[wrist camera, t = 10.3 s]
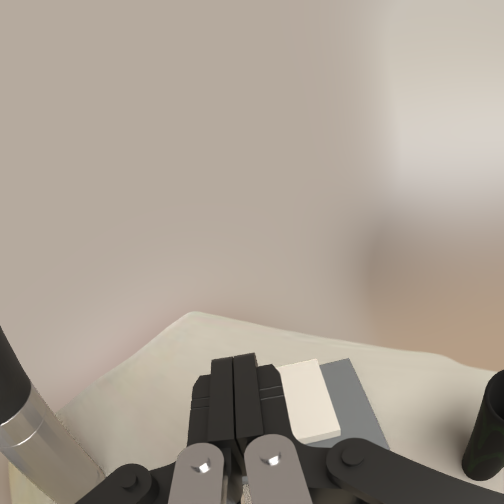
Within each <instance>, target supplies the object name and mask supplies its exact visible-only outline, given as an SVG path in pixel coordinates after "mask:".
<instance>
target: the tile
mask: <svg viewBox="0 0 504 504" xmlns="http://www.w3.org/2000/svg"><path fill="white" fill-rule="evenodd" d="M275 368H276V369H277V370H278V371H279V372H280V375H281V380H282V385H283V390H284V395H285V400H286V405H287V410H288V415H289V420H290V425H291V430H292V433H293V435H294V436H295V438H296V439H297V440H298V441H300V442H301V443H303V444H308V443H312V442H317V441H321V440H325V439H329V438H333V437H337V436H341V429H340V426H339V423H338V420H337V417H336V414H335V411H334V408H333V405H332V402H331V399H330V396H329V393H328V390H327V387H326V384H325V381H324V378H323V376H322V373H321V370H320V367H319V364H318V361H317V358H316V359H311V360H307V361H303V362H298V363H293V364H289V365H284V366H279V367H275Z"/></svg>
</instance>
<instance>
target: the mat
mask: <svg viewBox="0 0 504 504" xmlns="http://www.w3.org/2000/svg"><path fill="white" fill-rule="evenodd" d="M319 367H320V370H321V373H322V376H323V378H324V381H325V384H326V387H327V390H328V393H329V396H330V399H331V402H332V405H333V408H334V411H335V414H336V417H337V420H338V423H339V426H340V429H341V436H337V437H333V438H329V439H325V440H321V441H317V442H312V443H308V444H305V445H308V446H312V447H325V448H332V447H333V446H334V445H335V444H336V443H338V442H340V441H342V440H344V439H348V438H363V439H366V440H369V441H371V442H373V443H375V444H377V445H379V446H381V447H383V448H385V449H387V450H390V448H389V446H388V444H387V441H386V439H385V437H384V434H383V432H382V430H381V428H380V425H379V423H378V421H377V418H376V416H375V414H374V412H373V410H372V407H371V405H370V403H369V401H368V398H367V396H366V394H365V392H364V390H363V387H362V385H361V383H360V381H359V379H358V377H357V374H356V372H355V370H354V368H353V366H352V364H351V362H350V359H349V358H347V359H343V360H339V361H335V362H331V363H327V364H323V365H319ZM242 482H243V485H244V484H248V478H247V476H244V477H242Z"/></svg>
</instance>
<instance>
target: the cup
mask: <svg viewBox="0 0 504 504" xmlns="http://www.w3.org/2000/svg"><path fill="white" fill-rule="evenodd" d="M462 467H463V471H464V472H465V474H466V475H467V476H468V477H469V478H471V479H473V480H476V481H484V480H488V479H490V478H492V477H493V476H495V475H496V474H497V473H498V472H499V471H500V470H501V469H502V468H503V467H504V370H502V371H500V372H498V373H497V374H495V375H494V376H493V377H492V378H491V379H490V380H489V382H488V384H487V386H486V389H485V393H484V396H483V400H482V403H481V407H480V410H479V414H478V417H477V420H476V423H475V426H474V429H473V432H472V435H471V438H470V440H469V443H468V446H467V449H466V451H465V454H464V456H463V460H462Z"/></svg>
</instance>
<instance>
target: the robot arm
mask: <svg viewBox="0 0 504 504" xmlns="http://www.w3.org/2000/svg"><path fill="white" fill-rule="evenodd" d="M0 451H1V452H2V453H3V454H4V455H5V456H6V457H7V459H8V460H9V461H10V462H11V463H12V464H13V465H14V466H15V467H16V468H17V469H18V470H19V471H21V472H22V473H23V474H24V475H25V476H26V477H27V478H28V479H29V480H30V481H31V482H32V483H34V484H35V485H36V486H37V487H38V488H39V489H40V490H41V491H43V492H44V493H45V494H46V495H47V496H49V497H50V498H51V499H52V500H53V501H55V502H56V503H57V504H244V492H243V482H242V477H244V476H247V478H248V484H249V490H250V495H251V501H252V504H504V494H502V493H499V492H495V491H492V490H489V489H486V488H483V487H480V486H477V485H474V484H471V483H468V482H465V481H462V480H460V479H457V478H454V477H452V476H449V475H446V474H444V473H441V472H439V471H436V470H434V469H431V468H429V467H426V466H424V465H421V464H419V463H417V462H414V461H412V460H410V459H407V458H405V457H403V456H401V455H398V454H396V453H394V452H392V451H390V450H387V449H385V448H383V447H381V446H379V445H377V444H375V443H373V442H371V441H369V440H366V439H363V438H348V439H344V440H342V441H340V442H338V443H336V444H335V445H334V446H333V447H332V448H325V447H312V446H308V445H305V444H303V443H301V442H300V441H298V440H297V439H296V438H295V436H294V435H293V433H292V430H291V425H290V420H289V415H288V410H287V405H286V400H285V395H284V390H283V385H282V380H281V375H280V372H279V371H278V370H277V369H276V368H275V367H274V366H273V365H272V364H270V365H264V366H259V367H258V364H257V360H256V356H255V353H249V354H244V355H238V356H234V358H233V357H226V358H220V359H214V360H212V362H211V374H210V375H203V376H199V378H198V380H197V381H196V383H195V384H194V386H193V391H192V401H191V410H190V420H189V430H188V441H187V447H186V448H185V449H184V450H183V451H181V453H180V454H179V455H178V457H177V460H176V461H175V462H174V463H172V464H170V465H167V466H164V467H161V468H157V469H154V470H150V471H148V470H147V469H146V468H145V467H143V466H141V465H139V464H126V465H123V466H121V467H119V468H117V469H116V470H115V471H114V472H112V473H111V474H110V475H109V476H108V477H107V478H105V476H104V473H103V472H102V470H101V469H100V468H99V467H98V466H97V465H96V464H95V462H94V461H93V460H92V459H91V458H90V457H89V456H88V455H87V454H86V452H85V451H84V450H83V449H82V448H81V447H80V446H79V444H78V443H77V442H76V441H75V440H74V439H73V437H72V436H71V435H70V434H69V432H68V431H67V430H66V429H65V428H64V426H63V425H62V424H61V422H60V421H59V420H58V419H57V417H56V416H55V415H54V413H53V412H52V411H51V410H50V408H49V407H48V406H47V404H46V402H45V401H44V400H43V399H42V397H41V396H40V394H39V393H38V391H37V390H36V388H35V387H34V385H33V384H32V382H31V381H30V379H29V378H28V376H27V375H26V373H25V372H24V370H23V368H22V366H21V364H20V363H19V361H18V359H17V357H16V355H15V353H14V351H13V350H12V348H11V346H10V344H9V342H8V340H7V338H6V336H5V334H4V333H3V331H2V328H1V326H0Z"/></svg>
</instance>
